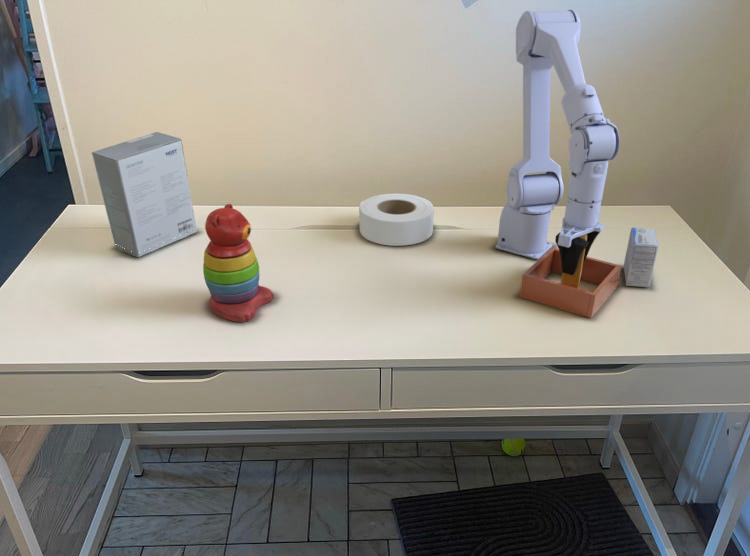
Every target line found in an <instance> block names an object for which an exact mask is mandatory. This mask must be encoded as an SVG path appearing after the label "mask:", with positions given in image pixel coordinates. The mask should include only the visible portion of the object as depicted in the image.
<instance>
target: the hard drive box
mask: <svg viewBox="0 0 750 556" xmlns="http://www.w3.org/2000/svg"><path fill="white" fill-rule="evenodd" d="M91 156H92V159H93V164H94V168H95V172H96V176H97V180H98V184H99V187H100V193H101V196H102V200H103V204H104V208H105V211H106V215H107V216H106V217H107V220H108V223H109V228H110V232H111V236H112V240H113V244H114V248H115V250H119V251H122V252H124V253H126V254H128V255H130V256H133V257H136V258H140V257H142V256H145V255H148V254H151V253H152V252H155V251H157V250H159V249H161V248H164V247H165V246H168V245H171V244H172V243H175V242H177V241H179V240H183V239H185V238H187V237H189V236H191V235H194V234H196V233H197V232H198V229H197V223H196V216H195V212H194V206H193V201H192V200H193V199H192V196H191V188H190V182H189V177H188V175H189V174H188V171H187V165H186V159H185V158H186V157H185V153H184V147H183V143H182V139H181V138H180V137H176V136H174V135H173V136H172V135H170V134H167V133H164V132H163V133H162V132H160V131H157V132H152V133H148V134H145V135H142V136H139V137H136V138H132V139H129V140H126V141H122V142H120V143H116V144H114V145H110V146H107V147H104V148H100V149H98V150H95V151H92V152H91ZM192 230H193V231H192ZM190 231H191V232H190ZM185 233H186V234H185ZM180 235H181V236H180ZM175 237H176V238H175ZM173 238H174V239H173ZM163 242H164V243H163ZM115 244H117V245H115ZM118 245H119V246H118ZM156 245H157V246H156ZM120 246H121V247H120ZM122 247H123V248H122ZM124 248H125V249H124ZM149 248H150V249H149ZM144 250H145V251H144ZM131 251H132V252H131ZM139 252H140V253H139Z"/></svg>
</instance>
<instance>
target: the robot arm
mask: <svg viewBox="0 0 750 556" xmlns="http://www.w3.org/2000/svg"><path fill="white" fill-rule="evenodd" d="M581 31H582V26H581V19H580V16H579V14H578V12H577V11H576V10H575V9H567V10H546V11H545V10H544V11H531V10H525V11H524V12H523V13H522V14H521V16H520V17H519V19H518V22H517V25H516V27H515V58H516V62H517V63H519V64H521V65H522V157H521V158H520V159H519V160H518V161H517V162H516V163H514V164H513V165H512V166H511V167H510V168H509V169H508V170H509V171H508V180H507V184H506V198H507V201H508V202H506V203H505V204H504V206H503V208H502V210H501V213H500V217H499V223H498V224H499V225H498V232H497V233H498V234H497V244H496V245H495V249H497V250H500V251H504V252H507V253H511V254H515V255H519V256H521V257H526V258H529V259H533V260H539V259H540V258H541V257H542V256H543V255H545V254H546V253H547V252H548V251H549V250H550V249H551V248H552V247H553V246H554V244H553V243H552V242H548V233H549V228H550V227H549V226H550V220H551V212H552V211H555V208H556V205H558V204H560V202H561V201H562V198H563V197H564V191H565V190H564V187H565V186H564V181H563V178H562V167H561V166H560V165H559V164H558V162H556V161H555V160H554V159H552V158H551V157H550V147H551V145H550V144H551V143H550V141H551V139H550V138H551V137H550V136H551V134H550V132H551V131H550V129H551V70H552V68H554V70H555V72H556V75H557V77H558V80H559V81H560V84H561V86H562V88H563V92H564V94H563V96H562V98H561V102H560V103H561V106H562V109H563V113H564V116H565V119H566V122H567V124H568V128H569V131H570V134H571V135H570V138H569V139H568V152H569V161H568V162H569V164H568V165H569V170H570V172H571V173H570V179H569V185H568V190H567V191H568V192H567V198H566V203H565V204H566V205H565V211H564V216H563V218H562V221H561V231H560V232H558V233H557V234H556V235H555V238H554V239H555V240H554V241H555V244H556V246H557V249H559V251H560V256H561V265H562V272H563V273H566V274H570V275H574V273H575V272H576V269H577V267H578V263H579V260H580V257H581V255H582V253H583V251H584V249H585V253H584V259H583V264H584V262H585V260H586V257H588V254H589V252H590V250H591V248H592V246H593V244H594V242H595V240H596V239H597V237H598V235H600V233H601V232H602V231H603V230H604V228H605V224H604V223H600V222H599V219H600V215H601V206H602V201H603V197H604V190H605V186H606V180H607V174H608V168H609V163H610V162H609V161H612V160H614V159H616V157H617V156H618V153H619V151H620V146H621V145H620V143H621V142H620V141H621V139H620V133H619V129H618V127H617V125H616V124H615V123H612V122H611V120H610V118H606V117H605V115H604V111H603V108H602V105H601V103H600V99H599V96H598V93H597V91H596V89H595V87H594V86H593V85H591V84H587V82H586V78H585V74H584V70H583V65H582V61H581V56H580V53H579V48H578V45H579V43H580V39H581V33H582V32H581ZM585 234H587V241H583V240H580V238H579V236H582V235H585Z"/></svg>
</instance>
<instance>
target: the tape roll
mask: <svg viewBox="0 0 750 556" xmlns="http://www.w3.org/2000/svg"><path fill="white" fill-rule="evenodd" d="M434 209H435V208H434V205H433V203H432V202H431V201H430V200H428V199H426V198H424V197H421V196H419V195H414V194H408V193H383V194H377V195H374V196H373V195H372V196H370V197H368V198H366V199H364V200H362V201H361V202H360V203H359V206H358V219H359V221H358V222H359V224H358V225H359V233H360V235H361V236H362V237H363V238H364V239H366V240H367V241H369V242H372V243H376V244H379V245H384V246H391V247H393V246H394V247H395V246H396V247H400V246H411V245H416V244H419V243H423V242H425V241H427V240H428V239H430V238H431V236H433V233H434V213H435V212H434V211H435V210H434Z"/></svg>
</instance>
